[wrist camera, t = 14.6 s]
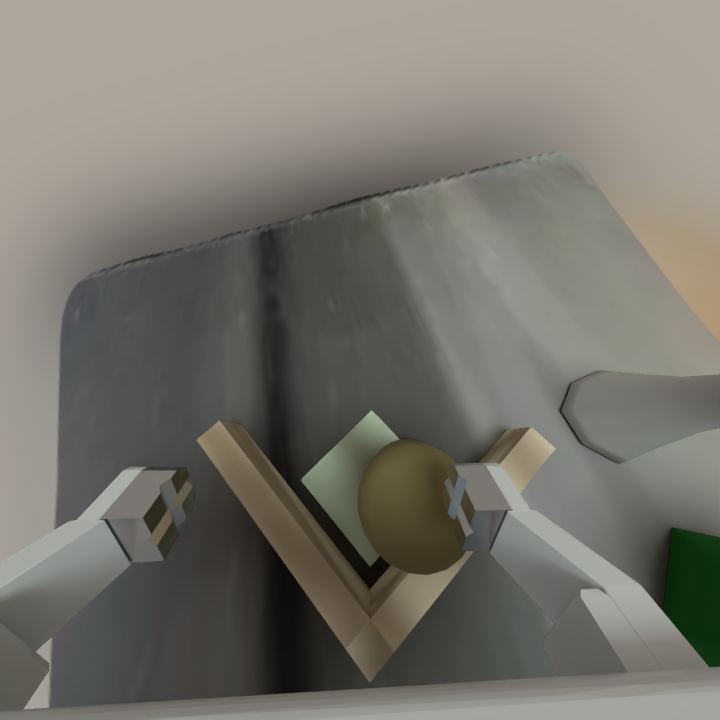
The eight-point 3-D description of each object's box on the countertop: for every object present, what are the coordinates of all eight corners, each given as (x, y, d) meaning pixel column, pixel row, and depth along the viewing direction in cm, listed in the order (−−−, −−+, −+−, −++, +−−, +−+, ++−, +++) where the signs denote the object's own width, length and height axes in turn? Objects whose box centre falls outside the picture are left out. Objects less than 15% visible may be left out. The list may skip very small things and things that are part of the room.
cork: (357, 458, 22) (319, 469, 11) (423, 425, 22) (444, 406, 11) (391, 537, 20) (382, 637, 9) (464, 500, 20) (535, 560, 9)
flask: (670, 420, 22) (897, 399, 13) (619, 480, 21) (831, 509, 11) (594, 357, 24) (743, 299, 14) (543, 410, 23) (671, 383, 13)
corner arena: (369, 639, 18) (369, 683, 15) (221, 441, 23) (196, 439, 19) (526, 448, 22) (555, 448, 18) (372, 309, 26) (373, 289, 23)
